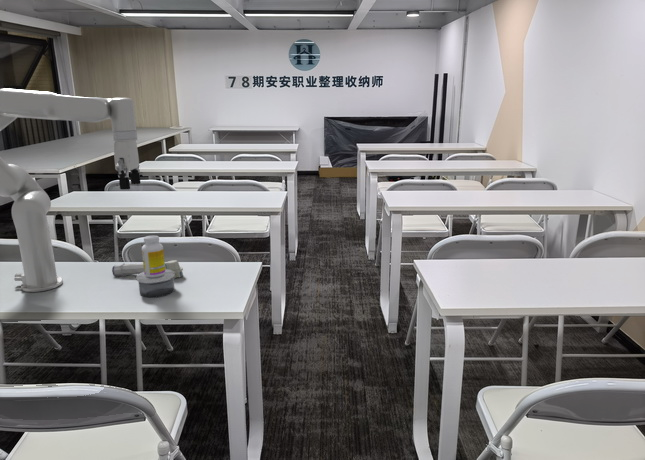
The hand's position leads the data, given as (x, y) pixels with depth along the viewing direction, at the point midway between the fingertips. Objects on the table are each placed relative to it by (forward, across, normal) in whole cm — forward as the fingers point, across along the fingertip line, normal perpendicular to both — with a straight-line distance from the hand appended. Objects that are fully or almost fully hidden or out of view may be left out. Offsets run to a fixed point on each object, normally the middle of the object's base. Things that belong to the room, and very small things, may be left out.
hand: (130, 186), depth 175 cm
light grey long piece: (+33, +1, +3) cm, 33 cm away
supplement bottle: (+27, +15, +11) cm, 33 cm away
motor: (+32, +15, +11) cm, 37 cm away
